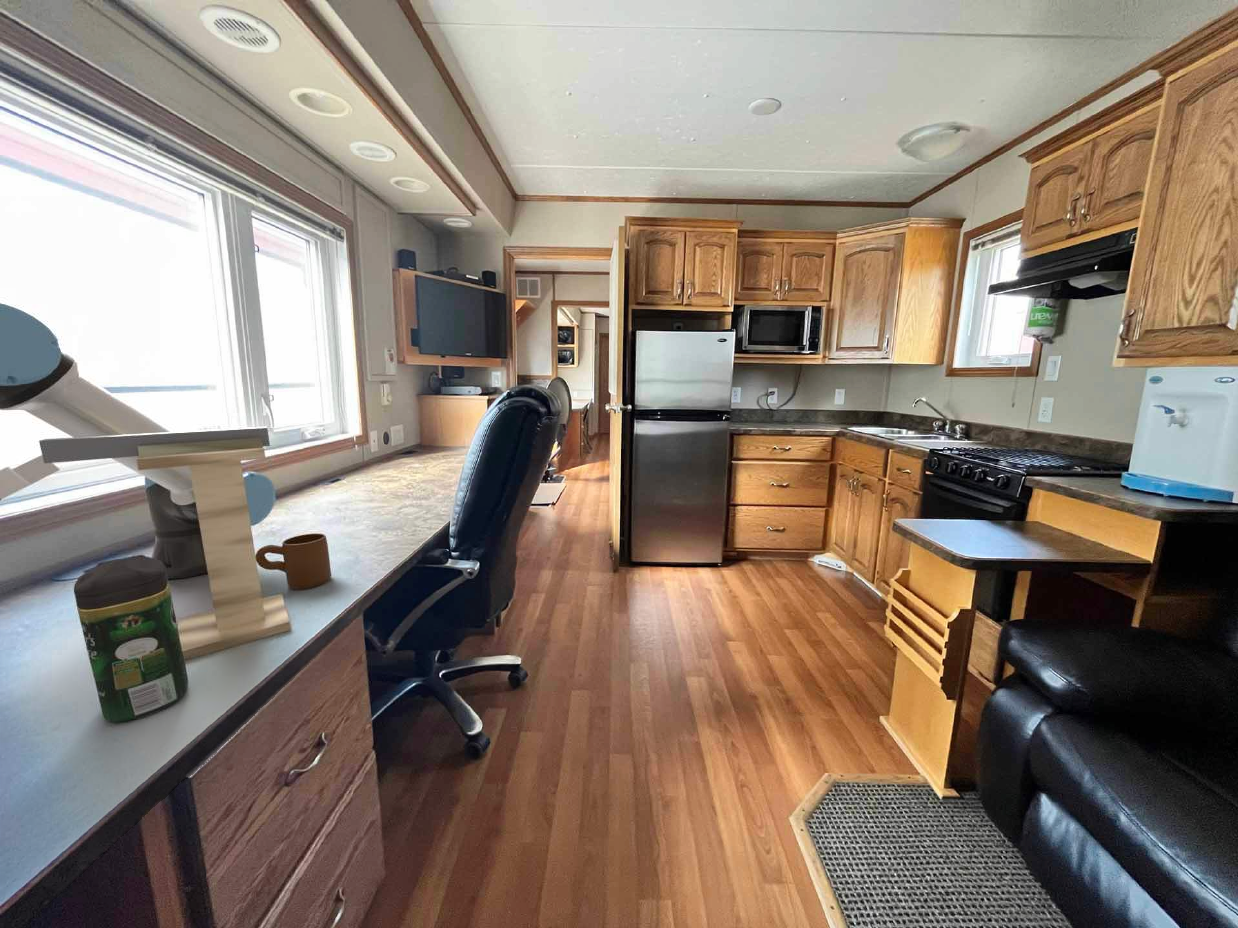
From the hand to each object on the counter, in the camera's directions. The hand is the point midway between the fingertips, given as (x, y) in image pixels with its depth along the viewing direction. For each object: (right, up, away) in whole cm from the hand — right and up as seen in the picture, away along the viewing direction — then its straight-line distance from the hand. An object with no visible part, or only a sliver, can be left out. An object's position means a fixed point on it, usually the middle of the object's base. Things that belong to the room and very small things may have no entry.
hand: (36, 468), depth 62 cm
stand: (+13, -27, +16) cm, 34 cm away
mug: (+12, -24, +33) cm, 43 cm away
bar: (+10, +2, +8) cm, 13 cm away
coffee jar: (+17, -30, -2) cm, 34 cm away
